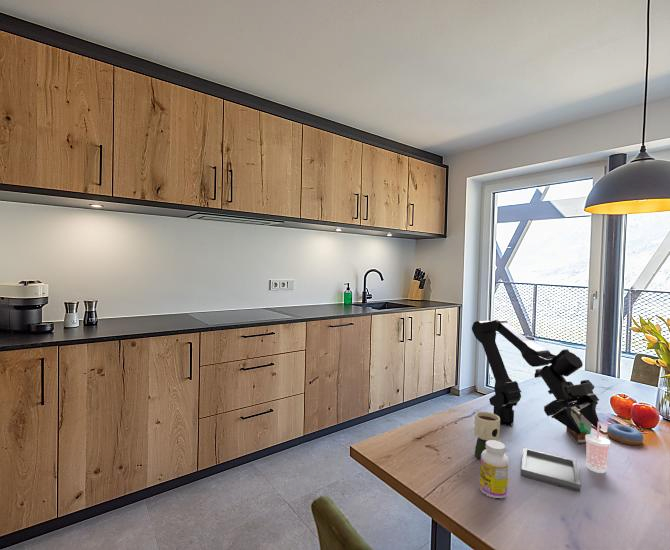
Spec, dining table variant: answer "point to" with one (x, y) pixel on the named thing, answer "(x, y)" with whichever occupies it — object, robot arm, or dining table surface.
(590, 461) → the beverage cup
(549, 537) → the dining table surface
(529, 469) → the tray
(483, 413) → the character mug
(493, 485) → the supplement bottle
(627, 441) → the doughnut
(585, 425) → the food container
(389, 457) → the dining table surface
